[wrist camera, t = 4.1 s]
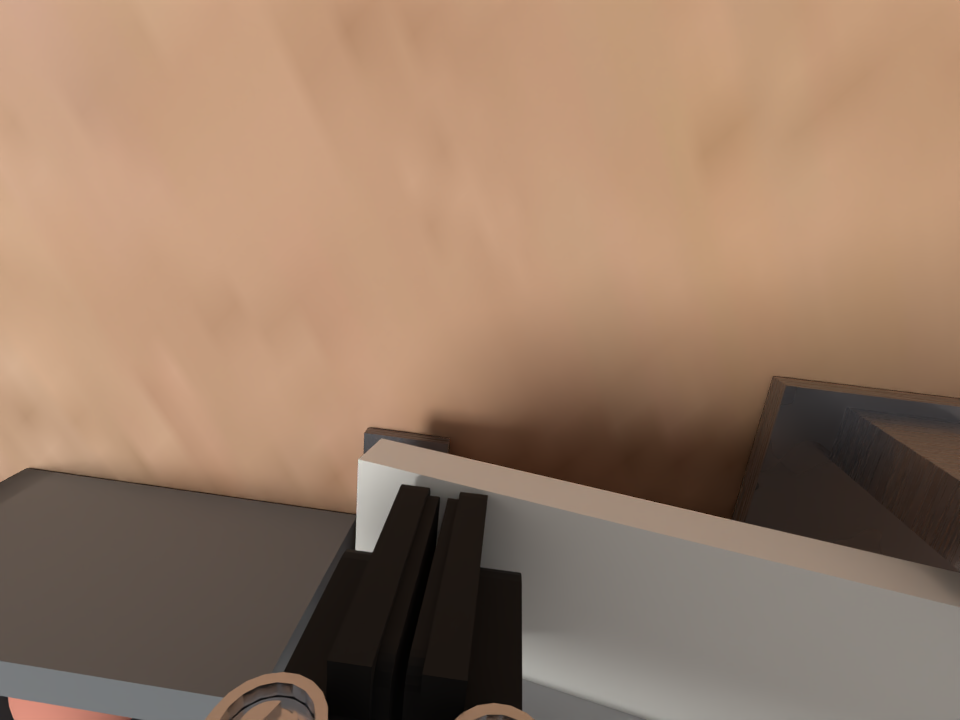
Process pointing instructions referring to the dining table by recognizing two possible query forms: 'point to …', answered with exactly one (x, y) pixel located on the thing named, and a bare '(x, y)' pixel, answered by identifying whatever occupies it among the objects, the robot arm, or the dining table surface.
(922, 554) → the stand
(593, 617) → the seesaw
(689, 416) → the dining table surface
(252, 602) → the grey open cubby box
